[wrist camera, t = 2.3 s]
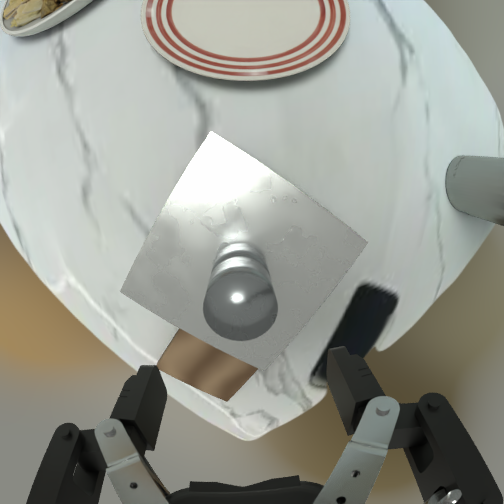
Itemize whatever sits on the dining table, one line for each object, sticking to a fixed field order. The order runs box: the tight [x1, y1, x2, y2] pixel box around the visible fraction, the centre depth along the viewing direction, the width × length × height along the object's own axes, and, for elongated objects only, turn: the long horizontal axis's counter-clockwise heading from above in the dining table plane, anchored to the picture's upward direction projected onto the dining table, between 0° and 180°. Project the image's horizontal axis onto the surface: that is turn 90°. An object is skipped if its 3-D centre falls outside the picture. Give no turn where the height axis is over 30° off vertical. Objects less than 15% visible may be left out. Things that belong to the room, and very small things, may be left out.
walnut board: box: [157, 328, 258, 401], centre depth 39 cm, size 13×13×2 cm
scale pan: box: [120, 132, 368, 371], centre depth 27 cm, size 18×18×3 cm
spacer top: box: [203, 257, 278, 341], centre depth 20 cm, size 5×5×4 cm
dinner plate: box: [141, 0, 350, 81], centre depth 24 cm, size 28×27×3 cm
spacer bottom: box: [211, 243, 271, 278], centre depth 24 cm, size 5×5×4 cm
